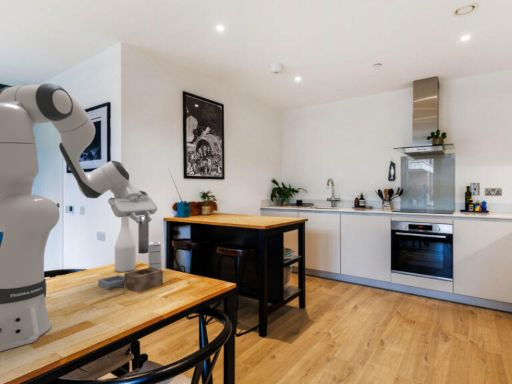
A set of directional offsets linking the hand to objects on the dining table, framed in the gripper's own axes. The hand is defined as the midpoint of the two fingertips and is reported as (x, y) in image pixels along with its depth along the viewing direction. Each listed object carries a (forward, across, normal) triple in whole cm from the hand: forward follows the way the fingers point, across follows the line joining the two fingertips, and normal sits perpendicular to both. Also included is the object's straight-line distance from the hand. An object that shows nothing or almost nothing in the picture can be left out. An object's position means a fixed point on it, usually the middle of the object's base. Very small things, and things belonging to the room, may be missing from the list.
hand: (144, 221), depth 124 cm
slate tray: (+10, -4, +28) cm, 30 cm away
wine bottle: (-1, +14, +39) cm, 42 cm away
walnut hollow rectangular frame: (+19, 0, +20) cm, 27 cm away
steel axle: (+9, 0, +10) cm, 13 cm away
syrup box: (+11, +18, +28) cm, 34 cm away
